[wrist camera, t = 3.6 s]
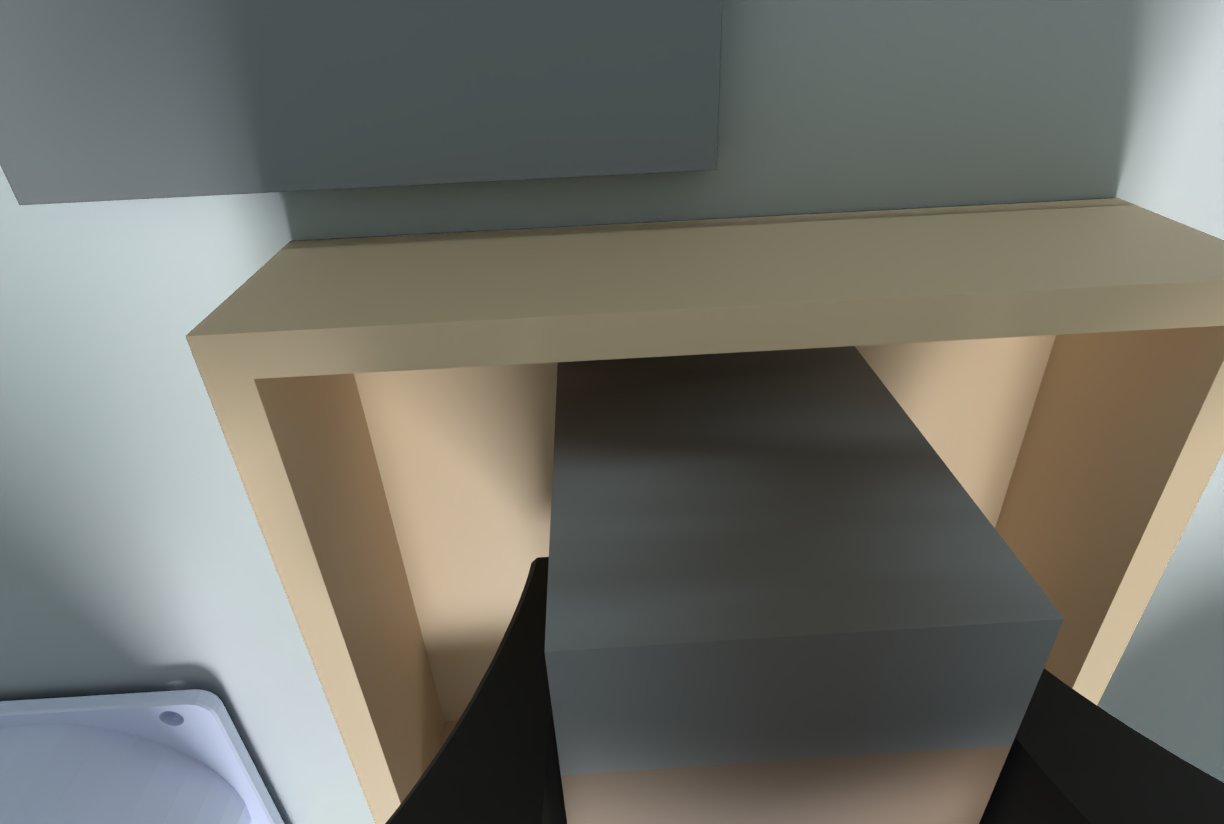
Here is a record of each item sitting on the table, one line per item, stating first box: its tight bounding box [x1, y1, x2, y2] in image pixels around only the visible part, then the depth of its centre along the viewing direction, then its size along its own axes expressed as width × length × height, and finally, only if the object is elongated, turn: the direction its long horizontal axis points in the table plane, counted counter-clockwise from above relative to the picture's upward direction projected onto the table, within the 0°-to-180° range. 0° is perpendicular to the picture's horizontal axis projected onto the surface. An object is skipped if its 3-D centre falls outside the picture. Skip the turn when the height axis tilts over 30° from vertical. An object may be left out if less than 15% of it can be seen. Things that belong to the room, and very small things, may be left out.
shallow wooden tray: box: [186, 198, 1224, 824], centre depth 13 cm, size 13×12×4 cm
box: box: [544, 346, 1064, 824], centre depth 11 cm, size 5×8×6 cm, turn 2°
